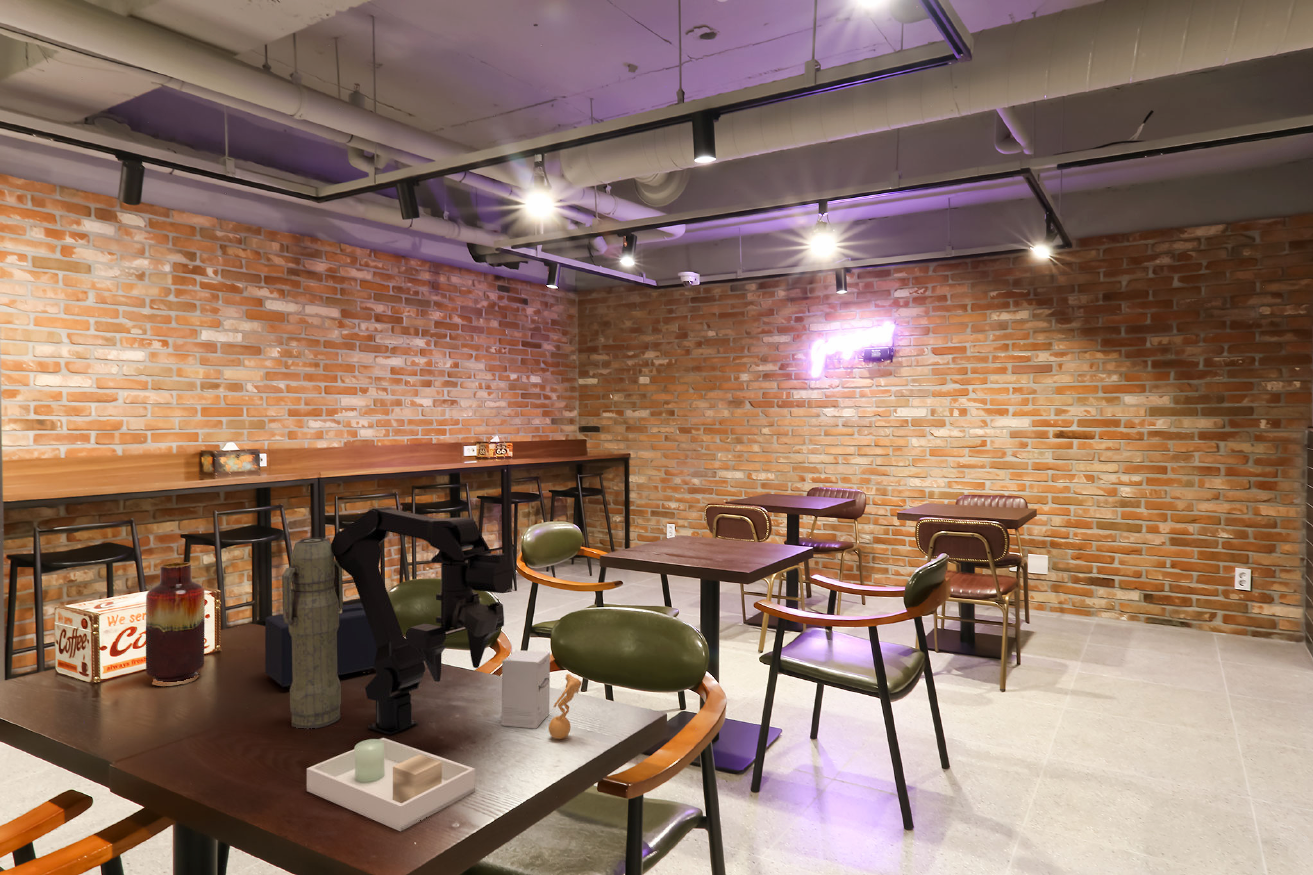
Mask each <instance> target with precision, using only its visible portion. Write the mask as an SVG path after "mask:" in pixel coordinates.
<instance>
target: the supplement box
mask: <svg viewBox="0 0 1313 875" xmlns="http://www.w3.org/2000/svg"><path fill="white" fill-rule="evenodd" d="M550 654H551V652H550V651H540V650H539V651H538V650H536V651H535V650H515V651H514V652H512V653H511V654H510V655H508V656H507V657H506V658H504V659H503V660H502V662H501V663H502V666H501V670H502V671H501V685H502V686H501V726H504V727H516V728H525V729H528V728H529V729H538V728H539V726H540V725H541V724H542V722H543V721H544V720H545V719H546V718H547V717H548V716H549V715H550V698H551V697H550V693H551V692H550V686H551V685H550V683H551V682H550V681H551V680H550V677H551V676H550V673H551V672H550V670H551V668H550V667H551V663H550V660H551V659H550V658H551V655H550Z"/></svg>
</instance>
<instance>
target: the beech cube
mask: <svg viewBox="0 0 1313 875" xmlns="http://www.w3.org/2000/svg"><path fill="white" fill-rule="evenodd" d="M441 783H442V762H440V761H437V760H434V759H431V758H428V757H426V756H423V755H417V756H415V757H413V758H411V759H408V760H406V761H404V762H402V763H399V764H397V765H395V766H393V800H395V801H397V802H399V803H403V802H405V801H407V800H409V799H411V798H413V797H415V796H417V795H419V794H421V793H423V792H425V791H427V790H429V789H431V788H433V787H435V786H437V785H439V784H441Z"/></svg>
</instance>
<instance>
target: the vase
mask: <svg viewBox="0 0 1313 875" xmlns="http://www.w3.org/2000/svg"><path fill="white" fill-rule="evenodd" d="M159 571H160V572H159V573H160V574H159V575H160V576H159V583H158V584H156V585H154V586H152V587H151V588H150V589H149V590H148V591H147V593H146V595H145V672H146V675H148V676H150V677H153V678H155V679H156V680H157V681H163V682H177V681H184V680H186V679H190V678H194V676H197V674H199V673H198V672H197V671H199V670H201V669H202V668H203V667H204V664H205V620H206V619H205V616H206V615H205V614H206V613H205V610H206V609H205V588H204V587H203V586H202V584H200V583H199V582H196V581H193V579H192V563H191V562H185V561H183V562H181V561H179V562H178V561H177V562H168V563H164V564H161V565H160V570H159Z"/></svg>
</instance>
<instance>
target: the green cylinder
mask: <svg viewBox="0 0 1313 875" xmlns="http://www.w3.org/2000/svg"><path fill="white" fill-rule="evenodd" d="M379 739H380V738H378V739H377V738H369V739H366V740H362V741H360V742H358V743H356V744H355V745H354V749H353V750H354V752H355V780H356V781H357V782H360V783H370V782H374V781H377V780H379V779H381V778H382V777H383V776H384V774H385V769H384V742H383V741H382V740H379Z"/></svg>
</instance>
